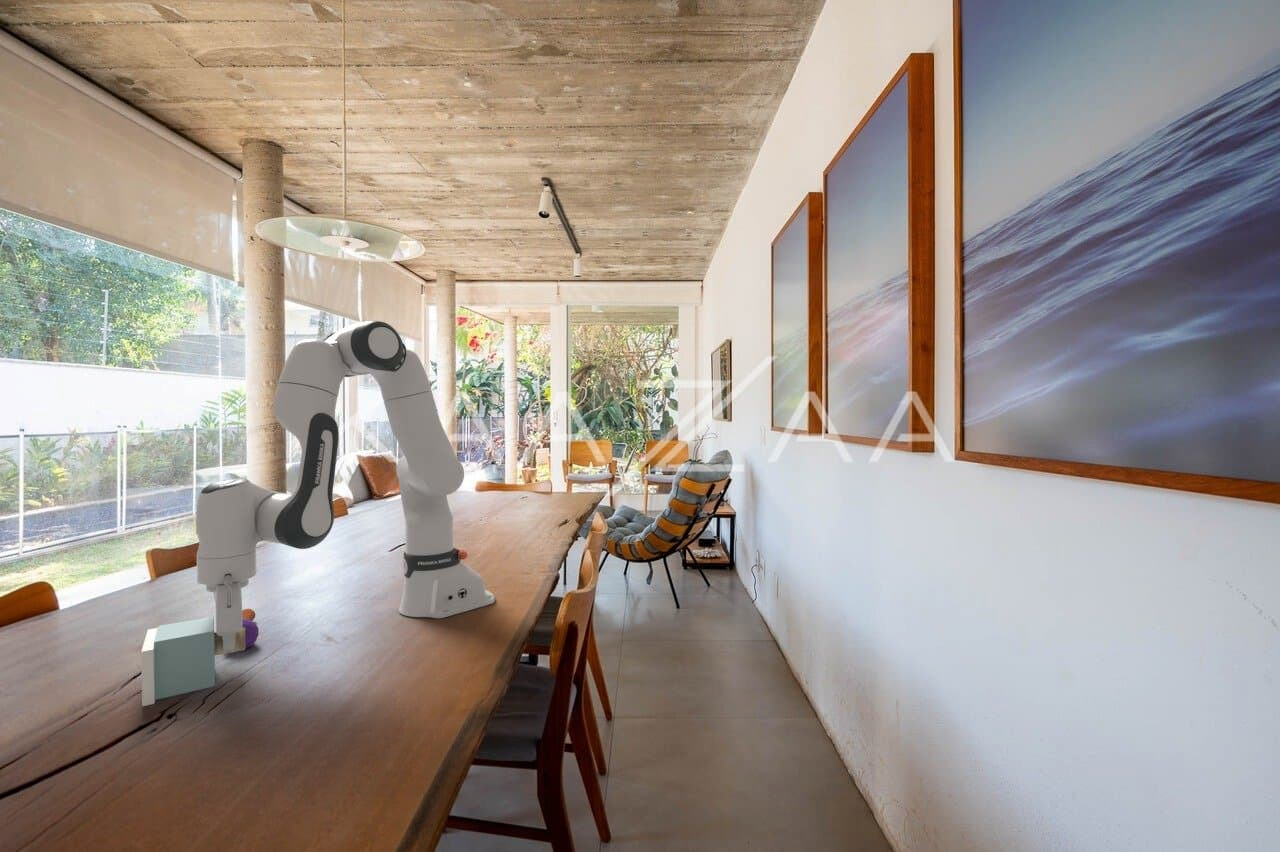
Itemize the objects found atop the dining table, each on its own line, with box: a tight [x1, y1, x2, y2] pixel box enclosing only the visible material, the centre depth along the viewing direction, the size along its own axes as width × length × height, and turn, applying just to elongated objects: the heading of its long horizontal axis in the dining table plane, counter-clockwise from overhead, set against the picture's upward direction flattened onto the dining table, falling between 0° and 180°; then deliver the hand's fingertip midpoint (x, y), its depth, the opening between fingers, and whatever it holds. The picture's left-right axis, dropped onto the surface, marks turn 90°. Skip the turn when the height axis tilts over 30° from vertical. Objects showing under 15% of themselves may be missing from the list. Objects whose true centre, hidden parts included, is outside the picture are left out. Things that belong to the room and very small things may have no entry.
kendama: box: [242, 608, 260, 650], centre depth 122 cm, size 6×6×20 cm
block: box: [154, 616, 216, 701], centre depth 100 cm, size 8×9×10 cm
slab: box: [140, 627, 158, 707], centre depth 98 cm, size 2×12×9 cm, turn 37°
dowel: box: [214, 628, 246, 657], centre depth 103 cm, size 10×4×4 cm, turn 127°
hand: (228, 643), depth 104 cm, fingers closed on dowel, 4 cm apart
